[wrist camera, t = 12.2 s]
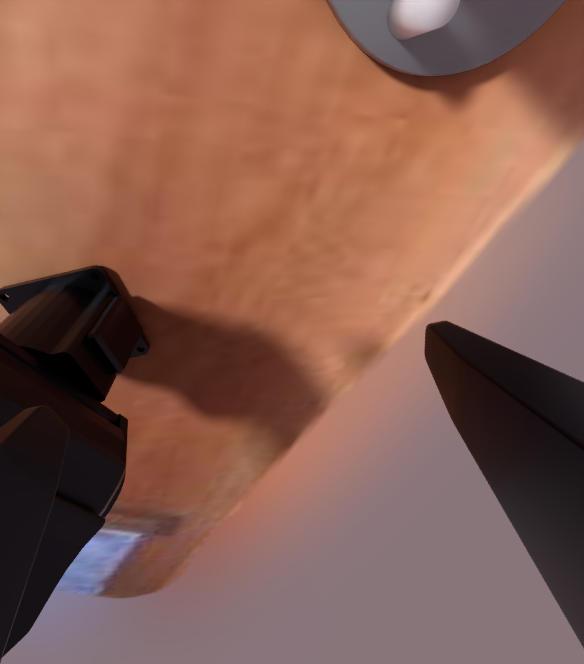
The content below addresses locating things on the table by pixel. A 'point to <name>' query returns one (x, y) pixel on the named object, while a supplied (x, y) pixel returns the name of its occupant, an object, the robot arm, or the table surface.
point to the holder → (439, 31)
